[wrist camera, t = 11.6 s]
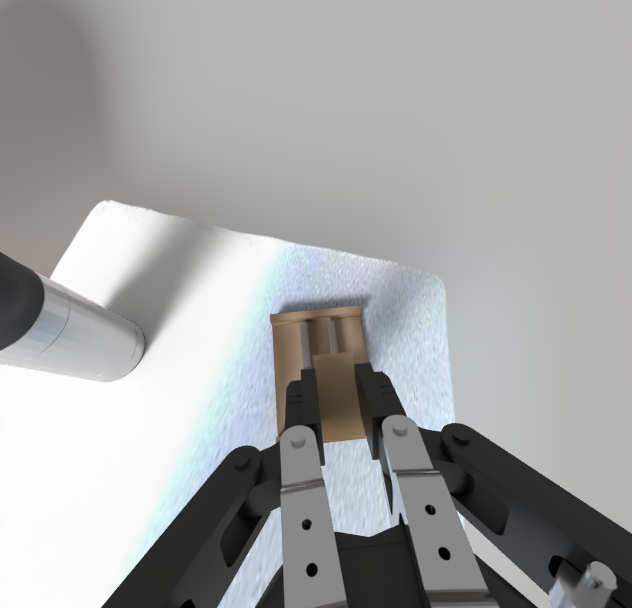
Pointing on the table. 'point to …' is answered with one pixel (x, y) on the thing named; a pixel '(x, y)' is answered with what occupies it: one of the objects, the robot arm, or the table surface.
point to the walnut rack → (311, 344)
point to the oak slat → (338, 397)
